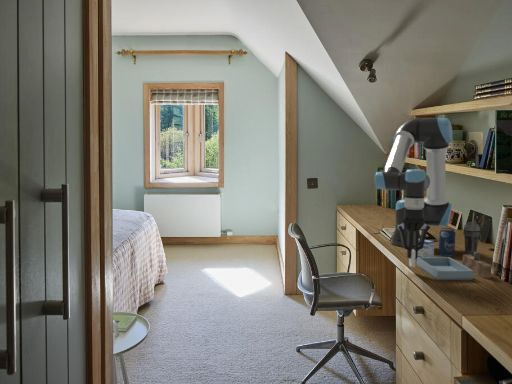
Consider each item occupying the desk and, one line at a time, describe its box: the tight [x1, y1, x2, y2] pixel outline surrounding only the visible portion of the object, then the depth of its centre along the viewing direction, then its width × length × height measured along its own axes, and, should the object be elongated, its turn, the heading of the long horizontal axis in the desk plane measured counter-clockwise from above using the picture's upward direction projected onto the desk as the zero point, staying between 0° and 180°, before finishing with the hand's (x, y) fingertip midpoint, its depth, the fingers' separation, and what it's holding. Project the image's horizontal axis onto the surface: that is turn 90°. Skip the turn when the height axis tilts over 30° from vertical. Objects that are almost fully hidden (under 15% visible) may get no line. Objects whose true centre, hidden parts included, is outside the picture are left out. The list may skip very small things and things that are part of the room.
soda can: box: [438, 227, 456, 257], centre depth 232 cm, size 7×7×12 cm
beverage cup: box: [463, 211, 481, 256], centre depth 231 cm, size 7×7×20 cm
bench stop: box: [462, 251, 492, 279], centre depth 202 cm, size 18×3×8 cm, turn 2°
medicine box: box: [412, 239, 435, 260], centre depth 224 cm, size 8×4×9 cm, turn 45°
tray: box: [416, 256, 474, 281], centre depth 202 cm, size 22×14×4 cm, turn 2°
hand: (411, 266), depth 201 cm, fingers closed
